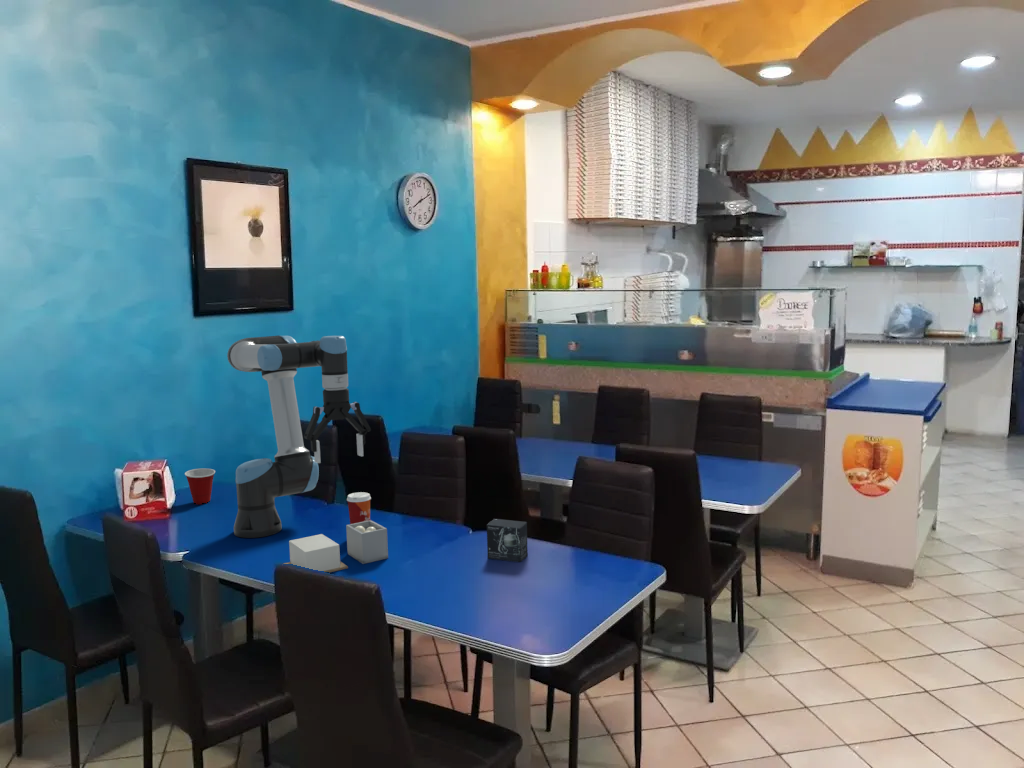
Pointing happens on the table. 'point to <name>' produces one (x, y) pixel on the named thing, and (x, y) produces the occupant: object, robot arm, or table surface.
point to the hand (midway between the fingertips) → (339, 459)
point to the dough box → (367, 541)
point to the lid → (315, 553)
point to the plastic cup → (200, 484)
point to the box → (507, 540)
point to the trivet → (342, 566)
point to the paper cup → (359, 507)
